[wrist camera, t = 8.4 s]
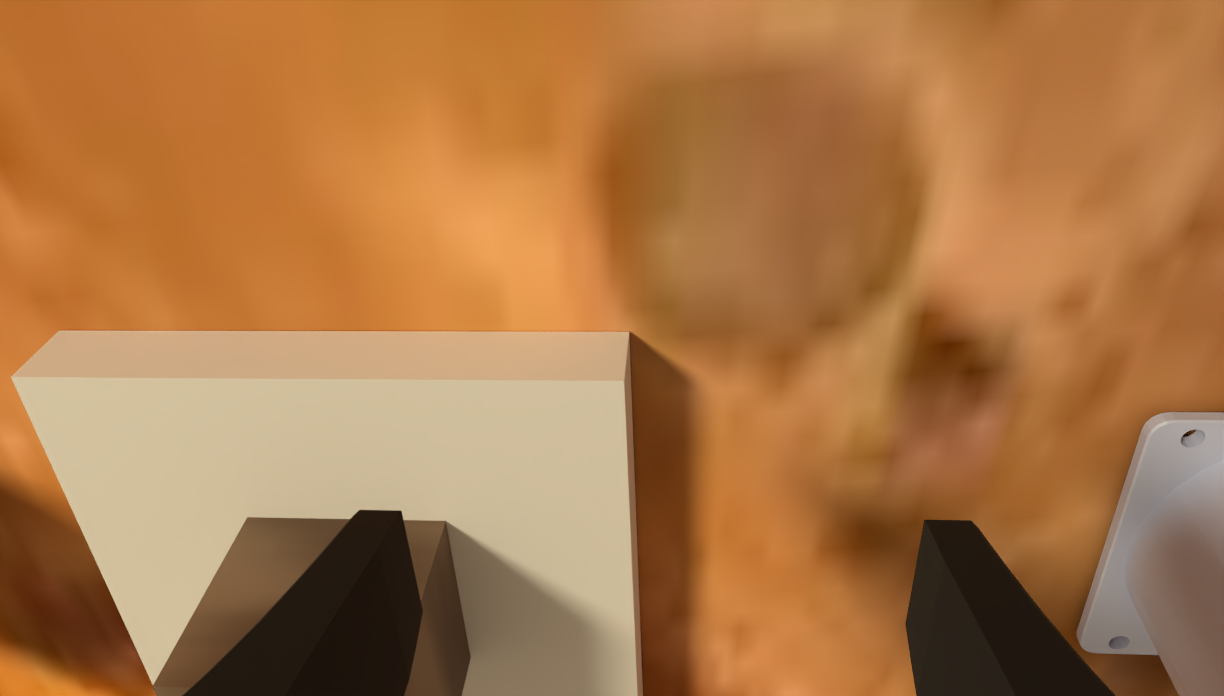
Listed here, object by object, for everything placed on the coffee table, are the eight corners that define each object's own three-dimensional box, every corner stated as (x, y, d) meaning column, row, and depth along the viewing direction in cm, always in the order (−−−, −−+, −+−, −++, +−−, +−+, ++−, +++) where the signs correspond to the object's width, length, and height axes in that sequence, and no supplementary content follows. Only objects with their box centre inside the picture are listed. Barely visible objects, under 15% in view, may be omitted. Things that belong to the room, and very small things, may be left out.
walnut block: (445, 521, 23) (391, 694, 19) (470, 657, 26) (428, 835, 22) (247, 517, 24) (152, 686, 20) (292, 652, 27) (217, 826, 22)
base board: (629, 331, 23) (624, 380, 21) (643, 712, 30) (640, 771, 28) (59, 330, 24) (10, 376, 22) (211, 697, 31) (184, 752, 30)
